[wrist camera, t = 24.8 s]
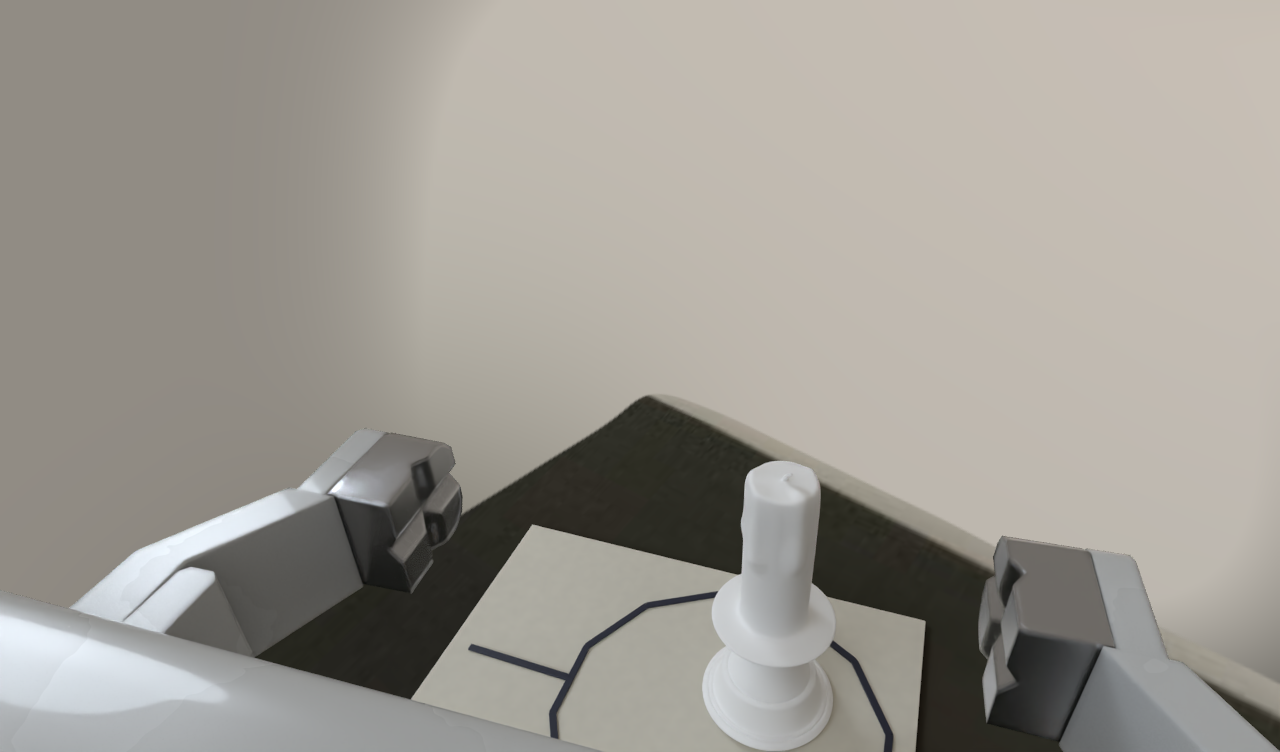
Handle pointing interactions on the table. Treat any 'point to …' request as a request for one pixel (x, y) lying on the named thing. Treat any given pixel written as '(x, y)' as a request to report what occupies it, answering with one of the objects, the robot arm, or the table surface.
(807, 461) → the table surface
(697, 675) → the sketch sheet
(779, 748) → the candle
